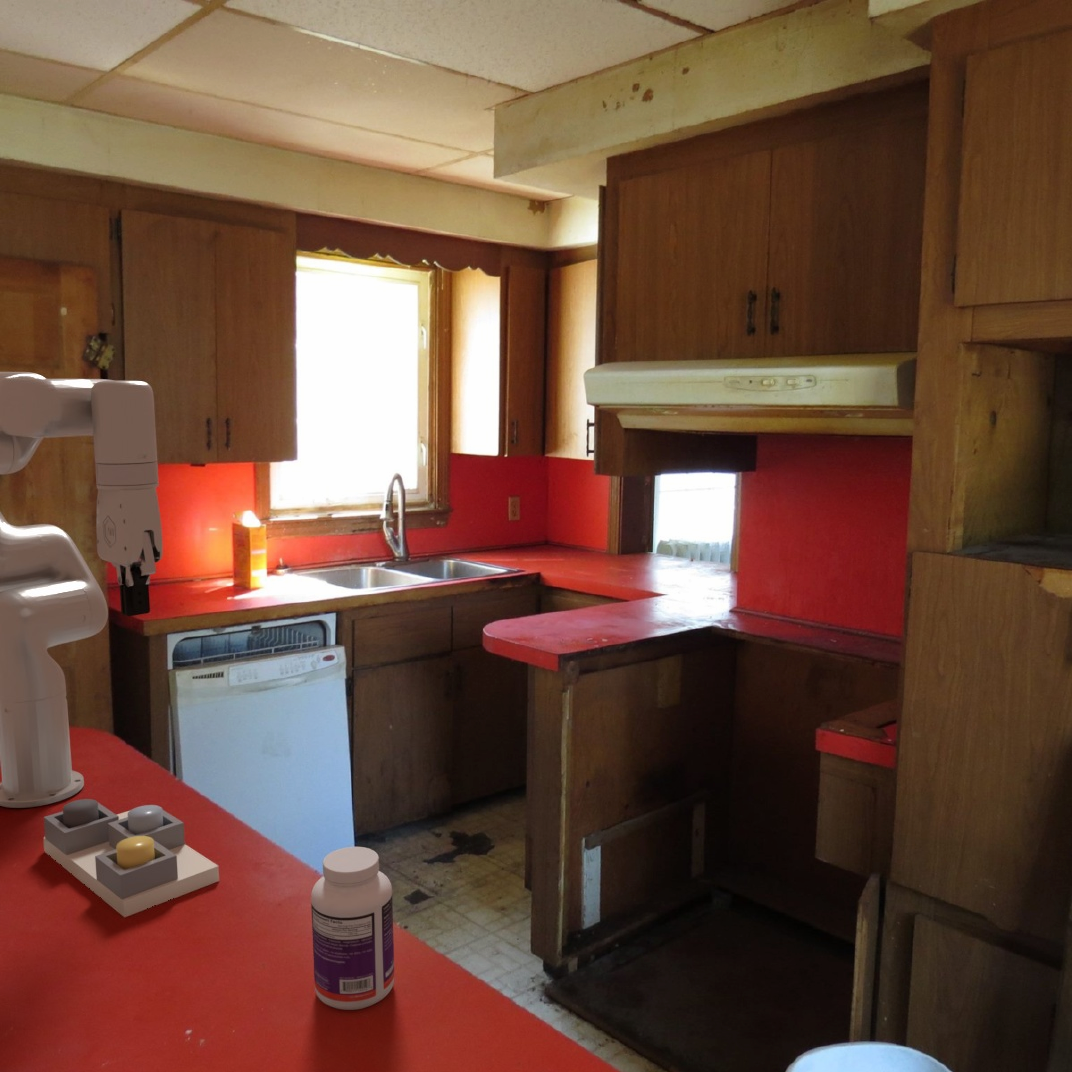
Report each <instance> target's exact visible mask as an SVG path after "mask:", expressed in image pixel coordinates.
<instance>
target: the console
mask: <svg viewBox="0 0 1072 1072" xmlns="http://www.w3.org/2000/svg"><path fill="white" fill-rule="evenodd" d="M129 811H130V810H128V811H124V812H121V813H118V814H116V813H115V812H113V811H111V810H110V809H108V808H107V807H106V806H104V805H103V804H101V803H100V802H98V814H99V820H96V821H92V822H89V823H86V824H83V825H79V826H76V827H73V828H70V829H69V828H68V827H66V826H65V825H64V819H63V810H62V811H58V812H56V813H53V814H52V813H51V814H49V815H46V816H43V822H44V823H43V827H44V837H43V836H42V837H43V839H42V840H43V849H44V850H43V851H45V852H44V853H46V854H47V855H48V856H49V855H50V856H51V857H50V856H49V857H50V858H52V859H53V860H54V861H55V860H56V861H55V862H56V863H58V864H59V865H60V864H61V865H62V866H61V865H60V866H61V867H63V868H64V869H65V871H66V870H67V871H68V872H69V873H70V874H71V873H72V874H71V875H73V876H74V877H75V878H76V879H77V880H78V881H79V882H81V883H82V884H83V885H84V884H85V886H86V887H87V888H88V889H89V888H90V889H89V890H90V891H92V892H93V891H94V892H93V893H94V894H95V895H97V897H99V898H100V897H101V898H102V899H101V898H100V899H101V900H102V901H104V902H105V903H106V904H108V905H109V906H110V907H111V908H112V909H114V910H115V911H116V912H117V913H119V914H120V915H121V916H122V917H123V918H126V917H129V916H132V915H135V914H138V913H140V912H143V911H144V910H145V911H146V910H148V909H150V908H152V906H153V907H155V906H154V905H156V906H158V905H161V904H163V903H165V902H168V900H169V901H170V899H171V900H173V898H174V899H176V898H178V897H181V896H183V895H187V894H189V893H191V892H194V891H197V890H199V889H202V888H205V887H207V886H210V885H212V884H214V883H217V882H219V881H220V872H219V871H220V868H219V864H217V863H215V862H214V861H212V860H210V859H209V858H207V857H205V856H204V855H203V854H201V853H199V852H198V851H197V850H195V849H193V848H191V847H190V846H189V845H187V844H186V842H185V840H186V839H185V824H184V822H183V821H182V820H180V819H178V818H176V816H173V815H172V814H171V813H168V811H166V810H164V809H162V812H163V826H162V827H159V828H156V829H153V830H150V831H147V832H144V833H141V834H138V835H134V834H133V833H131V832H130V831H129V829H128V812H129ZM135 836H148V837H151V838H152V839H153V840H154V854H155V860H152V861H149V862H146V863H143V864H140V865H138V866H135V867H132V868H129V869H126V870H124V869H122V868H121V867H120V866H118V865H117V851H116V846H117V844H118V843H119V842H120V841H122V840H124V839H127V838H130V837H135ZM147 908H148V909H147Z"/></svg>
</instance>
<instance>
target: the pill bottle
mask: <svg viewBox="0 0 1072 1072" xmlns="http://www.w3.org/2000/svg"><path fill="white" fill-rule="evenodd" d="M322 873H323V875H322V876H321V877H320V878H319V879H318V880H317V881H316V882H315V883H314V885H313V887H312V890H311V895H310V903H311V925H312V927H311V929H312V950H313V954H312V956H313V977H314V978H313V979H314V980H313V981H314V982H313V983H314V991H315V993H316V995H317V998H318V999H319V1000H320V1001H321V1002H322V1003H324V1004H325V1005H327V1006H329V1007H332V1008H334V1009H338V1010H346V1011H349V1010H350V1011H351V1010H352V1011H354V1010H362V1009H365V1008H367V1007H368V1008H369V1007H370V1006H373V1005H374V1004H376V1003H378V1002H380V1001H382V1000H383V999H384V998H385V997H386V996H388V994H389V993H390V992H391V990H392V988H393V986H394V983H395V954H394V953H395V950H394V949H395V943H394V941H395V940H394V918H393V917H394V913H393V909H394V908H393V907H394V906H393V904H394V903H393V886H392V883H391V881H390V878H388V876H387V875H386V874H385V873H383V872H382V871H380V857H379V854H378V853H377V852H376V851H375V850H374V849H372V848H369V847H363V846H348V847H341V848H339V849H335V850H333V851H331V852H329V853H327V855H325V857H324V858H323V861H322Z"/></svg>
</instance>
